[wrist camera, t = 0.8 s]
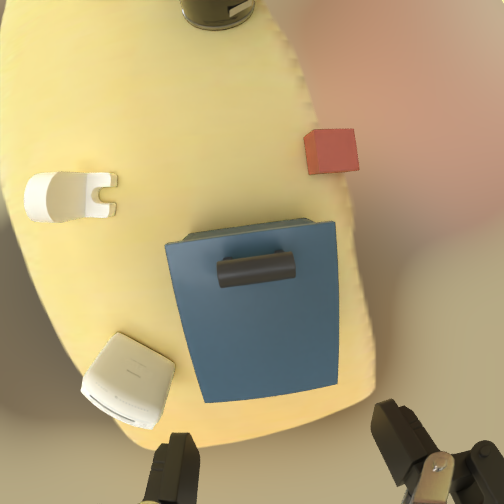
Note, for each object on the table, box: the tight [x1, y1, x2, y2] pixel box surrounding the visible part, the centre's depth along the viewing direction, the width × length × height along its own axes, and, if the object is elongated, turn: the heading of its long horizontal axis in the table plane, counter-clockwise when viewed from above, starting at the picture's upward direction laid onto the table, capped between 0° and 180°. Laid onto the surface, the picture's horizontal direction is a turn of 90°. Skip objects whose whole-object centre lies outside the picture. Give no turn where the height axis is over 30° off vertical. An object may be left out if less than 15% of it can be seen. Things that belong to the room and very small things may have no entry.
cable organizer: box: [24, 172, 117, 223], centre depth 25 cm, size 5×10×10 cm, turn 85°
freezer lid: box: [165, 221, 339, 403], centre depth 21 cm, size 16×14×5 cm
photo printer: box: [81, 332, 175, 429], centre depth 29 cm, size 10×4×12 cm, turn 59°
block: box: [304, 129, 359, 175], centre depth 28 cm, size 4×4×4 cm
